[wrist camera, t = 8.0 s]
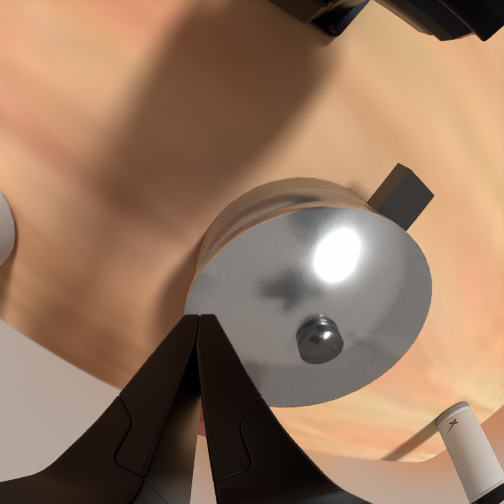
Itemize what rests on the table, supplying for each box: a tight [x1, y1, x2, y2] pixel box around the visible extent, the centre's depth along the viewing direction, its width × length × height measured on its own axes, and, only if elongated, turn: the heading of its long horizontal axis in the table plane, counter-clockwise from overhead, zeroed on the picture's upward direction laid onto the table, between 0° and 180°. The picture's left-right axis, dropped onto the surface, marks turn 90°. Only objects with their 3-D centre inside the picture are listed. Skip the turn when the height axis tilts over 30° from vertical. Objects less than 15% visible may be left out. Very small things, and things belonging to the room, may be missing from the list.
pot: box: [195, 163, 434, 407], centre depth 21 cm, size 23×14×5 cm, turn 145°
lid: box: [183, 201, 432, 437], centre depth 18 cm, size 20×15×2 cm
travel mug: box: [436, 402, 504, 504], centre depth 29 cm, size 6×7×20 cm
